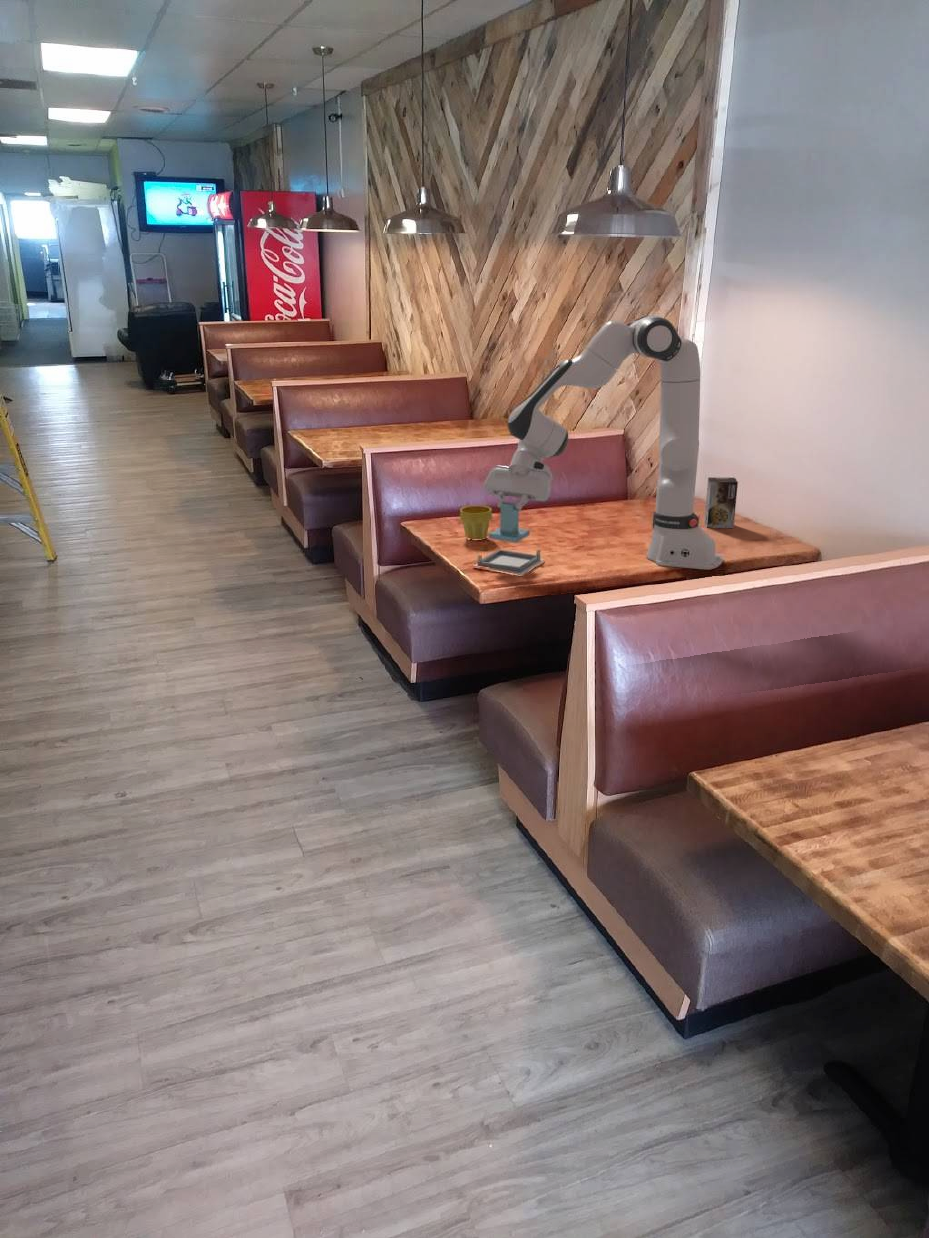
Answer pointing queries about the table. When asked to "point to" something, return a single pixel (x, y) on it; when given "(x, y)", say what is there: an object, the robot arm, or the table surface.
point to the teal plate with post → (509, 525)
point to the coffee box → (721, 502)
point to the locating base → (510, 561)
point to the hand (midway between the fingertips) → (508, 508)
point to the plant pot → (476, 521)
